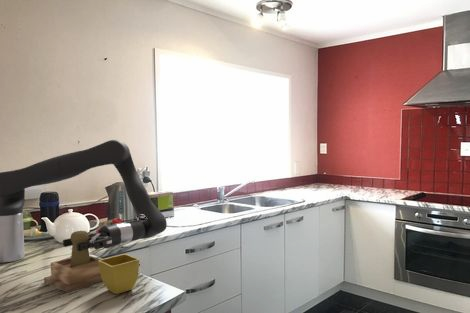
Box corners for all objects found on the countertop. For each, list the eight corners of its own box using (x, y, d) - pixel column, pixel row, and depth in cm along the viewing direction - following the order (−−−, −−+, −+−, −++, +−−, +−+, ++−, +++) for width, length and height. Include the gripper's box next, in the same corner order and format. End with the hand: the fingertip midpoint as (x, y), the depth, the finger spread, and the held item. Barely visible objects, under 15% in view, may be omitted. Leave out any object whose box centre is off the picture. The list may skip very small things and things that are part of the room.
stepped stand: (44, 282, 114) (43, 263, 114) (86, 269, 125) (85, 252, 125) (67, 292, 106) (66, 272, 106) (110, 278, 117) (109, 259, 117)
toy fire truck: (100, 237, 172) (99, 216, 172) (123, 239, 166) (122, 218, 166) (94, 238, 169) (94, 217, 168) (118, 241, 163) (117, 219, 163)
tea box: (166, 214, 226) (165, 190, 226) (174, 216, 218) (173, 191, 218) (143, 217, 216) (142, 192, 216) (151, 220, 209) (150, 194, 208)
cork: (93, 262, 118) (92, 228, 118) (86, 269, 112) (85, 233, 112) (74, 263, 118) (73, 229, 118) (66, 269, 112) (65, 234, 112)
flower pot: (98, 290, 107) (97, 259, 107) (126, 282, 113) (125, 253, 113) (112, 299, 101) (111, 266, 100) (141, 289, 107) (140, 259, 107)
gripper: (103, 221, 131) (58, 230, 118) (128, 226, 122) (81, 236, 109) (104, 242, 131) (59, 253, 118) (128, 248, 122) (82, 261, 109)
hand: (70, 245), depth 114 cm, fingers open, 8 cm apart
